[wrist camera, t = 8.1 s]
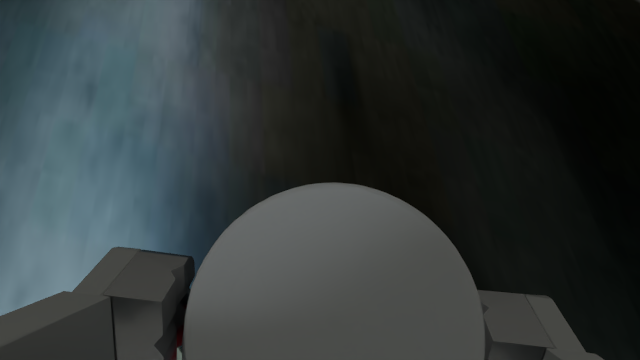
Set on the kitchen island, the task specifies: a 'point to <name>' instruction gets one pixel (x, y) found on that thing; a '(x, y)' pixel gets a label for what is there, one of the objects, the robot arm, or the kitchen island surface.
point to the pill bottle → (333, 284)
